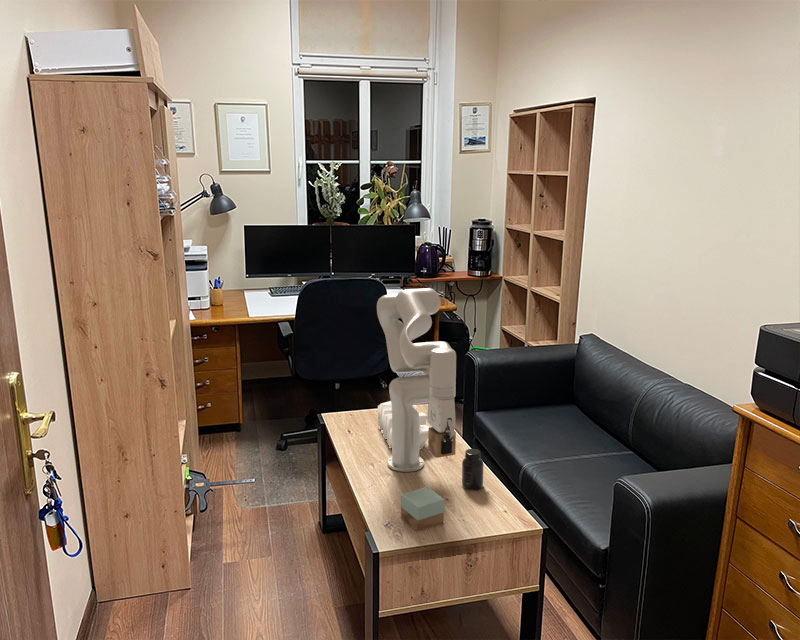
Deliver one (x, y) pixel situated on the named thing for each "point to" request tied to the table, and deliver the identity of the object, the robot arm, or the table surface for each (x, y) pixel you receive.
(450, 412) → the robot arm
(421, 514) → the tower top slab
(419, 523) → the tower base slab
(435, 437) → the walnut block
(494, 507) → the table surface
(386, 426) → the wavy white extrusion
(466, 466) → the supplement bottle
